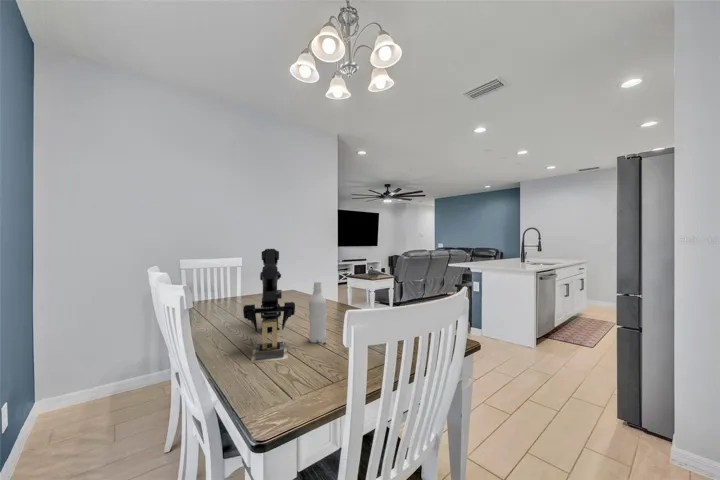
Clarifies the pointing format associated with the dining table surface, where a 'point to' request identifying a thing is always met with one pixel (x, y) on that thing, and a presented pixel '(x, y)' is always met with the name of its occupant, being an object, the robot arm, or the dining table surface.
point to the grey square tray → (269, 353)
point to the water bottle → (317, 315)
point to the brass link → (272, 324)
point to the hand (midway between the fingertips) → (269, 330)
